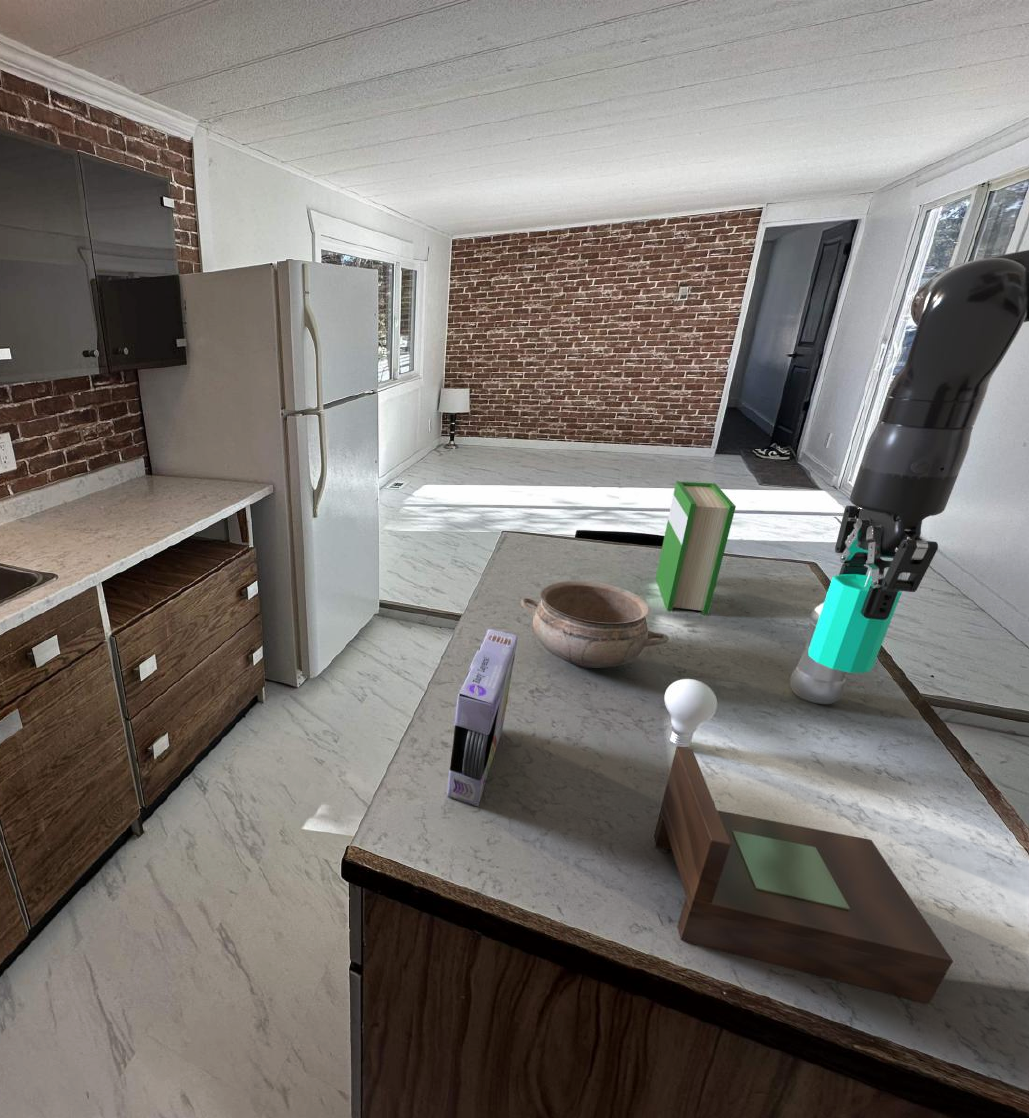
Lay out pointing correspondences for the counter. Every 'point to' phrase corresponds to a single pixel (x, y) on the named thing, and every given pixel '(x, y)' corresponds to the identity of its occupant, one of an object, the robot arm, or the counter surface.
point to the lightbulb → (688, 708)
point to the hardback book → (694, 545)
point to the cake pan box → (480, 716)
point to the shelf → (794, 894)
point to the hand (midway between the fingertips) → (859, 604)
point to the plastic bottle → (816, 673)
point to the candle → (848, 627)
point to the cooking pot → (592, 623)
